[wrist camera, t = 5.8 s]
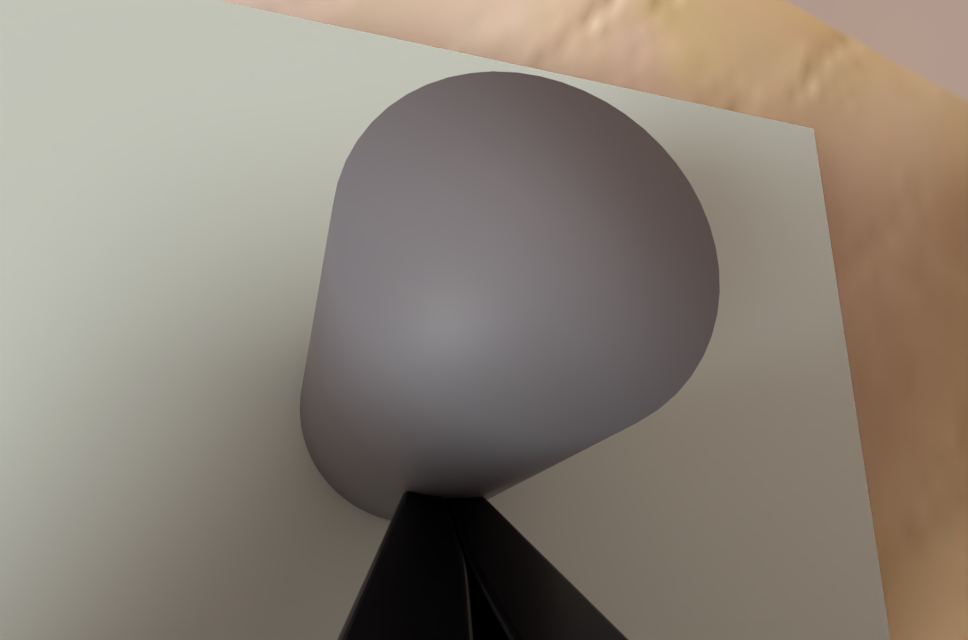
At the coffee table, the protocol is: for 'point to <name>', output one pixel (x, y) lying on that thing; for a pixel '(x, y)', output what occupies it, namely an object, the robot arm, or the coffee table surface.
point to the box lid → (404, 333)
